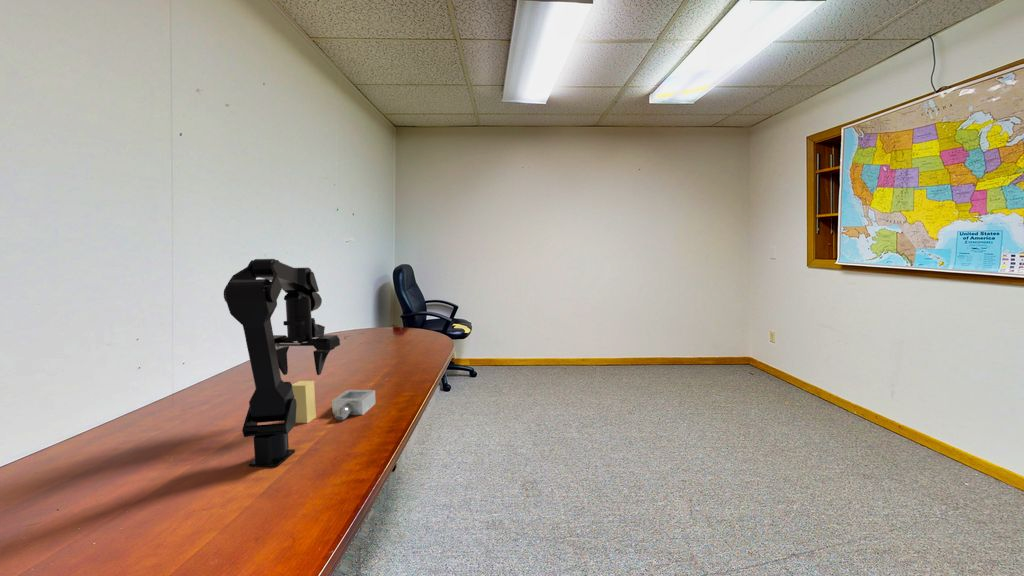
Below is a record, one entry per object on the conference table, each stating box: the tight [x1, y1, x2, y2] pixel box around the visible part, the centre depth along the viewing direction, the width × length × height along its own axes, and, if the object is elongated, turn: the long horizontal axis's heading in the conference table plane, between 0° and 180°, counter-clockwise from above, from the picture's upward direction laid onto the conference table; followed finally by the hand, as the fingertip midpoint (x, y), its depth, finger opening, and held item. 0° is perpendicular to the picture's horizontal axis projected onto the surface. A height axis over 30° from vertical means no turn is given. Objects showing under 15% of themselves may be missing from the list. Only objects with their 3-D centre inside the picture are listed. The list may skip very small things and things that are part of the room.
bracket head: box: [331, 388, 377, 422], centre depth 114 cm, size 16×8×4 cm, turn 176°
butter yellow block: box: [291, 380, 317, 424], centre depth 106 cm, size 4×4×10 cm
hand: (302, 374), depth 106 cm, fingers open, 9 cm apart
